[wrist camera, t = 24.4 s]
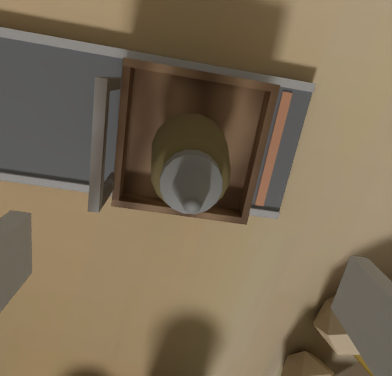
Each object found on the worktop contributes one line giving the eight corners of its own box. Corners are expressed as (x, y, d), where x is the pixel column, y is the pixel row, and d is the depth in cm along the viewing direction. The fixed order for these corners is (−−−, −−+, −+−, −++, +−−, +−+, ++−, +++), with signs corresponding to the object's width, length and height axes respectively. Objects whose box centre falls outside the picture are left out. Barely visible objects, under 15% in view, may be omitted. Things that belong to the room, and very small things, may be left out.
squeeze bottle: (219, 103, 34) (252, 129, 17) (227, 172, 37) (263, 253, 20) (148, 115, 34) (111, 150, 17) (161, 182, 37) (140, 270, 20)
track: (-2, 175, 41) (-8, 179, 39) (-9, 25, 35) (-17, 23, 33) (275, 214, 44) (278, 219, 42) (311, 83, 38) (315, 83, 37)
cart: (114, 188, 40) (86, 230, 29) (124, 58, 35) (96, 49, 24) (238, 206, 42) (258, 252, 31) (266, 84, 37) (302, 86, 26)
